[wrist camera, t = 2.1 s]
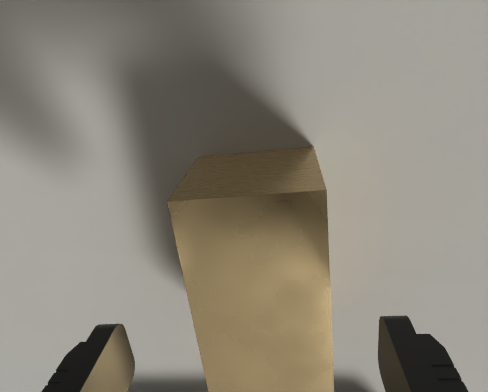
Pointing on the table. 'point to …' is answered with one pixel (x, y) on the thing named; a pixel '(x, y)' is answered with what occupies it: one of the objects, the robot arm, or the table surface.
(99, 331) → the robot arm
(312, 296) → the tan rectangular block
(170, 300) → the table surface
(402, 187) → the table surface
